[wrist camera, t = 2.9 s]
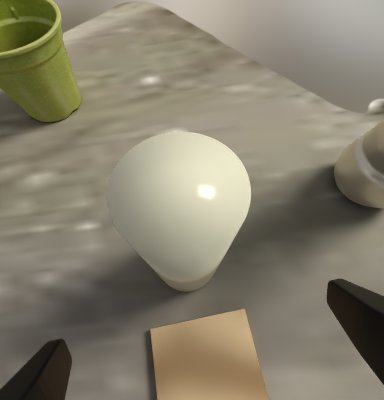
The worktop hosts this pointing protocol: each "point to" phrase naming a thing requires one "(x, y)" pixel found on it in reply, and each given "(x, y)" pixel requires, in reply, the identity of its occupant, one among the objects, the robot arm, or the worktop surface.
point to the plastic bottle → (363, 169)
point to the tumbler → (180, 204)
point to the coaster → (207, 359)
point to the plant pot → (36, 60)
